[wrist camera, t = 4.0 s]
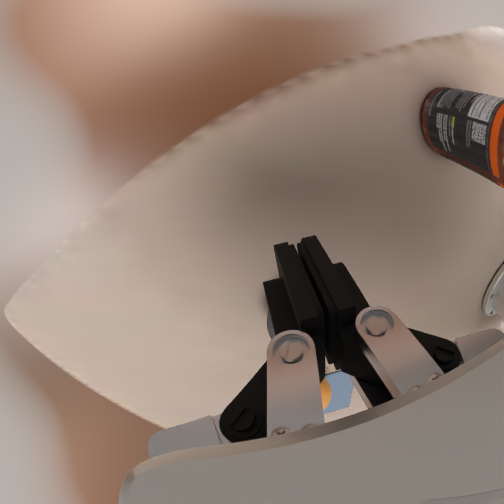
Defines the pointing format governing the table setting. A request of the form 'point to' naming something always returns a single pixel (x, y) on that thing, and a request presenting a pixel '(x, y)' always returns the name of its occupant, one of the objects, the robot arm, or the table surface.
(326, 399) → the orange ball
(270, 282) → the robot arm
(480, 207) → the table surface
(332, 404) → the slate mark
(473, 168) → the supplement bottle
